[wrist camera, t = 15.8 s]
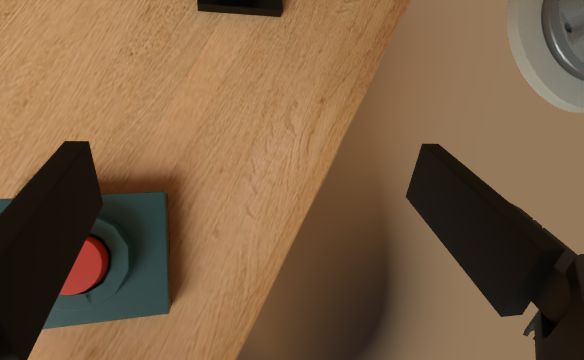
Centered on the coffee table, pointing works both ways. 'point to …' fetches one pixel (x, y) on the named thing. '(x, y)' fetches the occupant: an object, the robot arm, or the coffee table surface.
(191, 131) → the coffee table surface
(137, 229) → the control block
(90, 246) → the button
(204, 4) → the bracket
